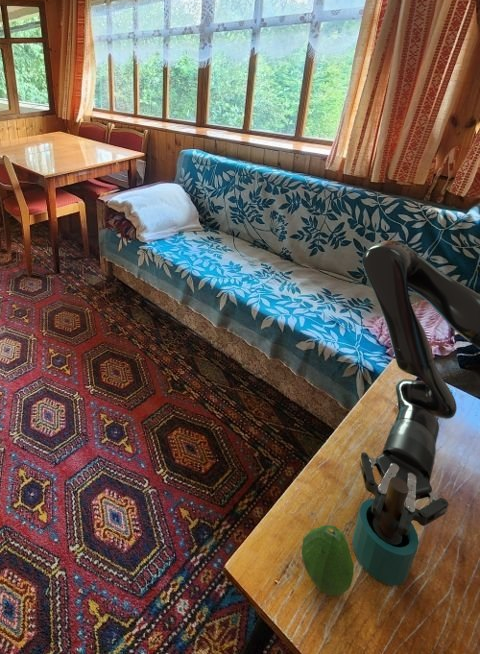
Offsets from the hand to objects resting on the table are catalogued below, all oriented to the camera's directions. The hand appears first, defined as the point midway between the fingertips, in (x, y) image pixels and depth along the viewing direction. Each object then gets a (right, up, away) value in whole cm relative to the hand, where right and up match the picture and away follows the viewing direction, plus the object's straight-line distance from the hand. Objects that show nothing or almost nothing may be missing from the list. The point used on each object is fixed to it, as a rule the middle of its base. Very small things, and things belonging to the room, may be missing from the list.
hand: (388, 523), depth 62 cm
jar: (+3, -12, +6) cm, 14 cm away
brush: (+3, -8, +5) cm, 10 cm away
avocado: (-9, -14, +4) cm, 17 cm away
